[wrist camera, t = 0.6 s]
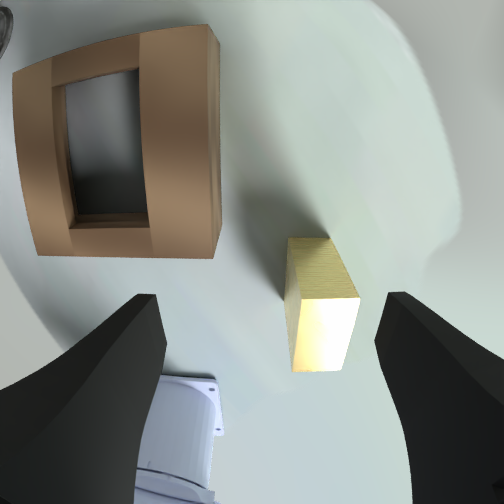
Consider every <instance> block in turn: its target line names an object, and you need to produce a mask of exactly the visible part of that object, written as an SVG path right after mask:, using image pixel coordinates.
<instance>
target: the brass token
mask: <svg viewBox="0 0 504 504" xmlns="http://www.w3.org/2000/svg"><path fill="white" fill-rule="evenodd" d="M359 301H360V297H359V295H358V293H357V291H356V289H355V286H354V284H353V282H352V280H351V278H350V276H349V274H348V272H347V270H346V268H345V266H344V264H343V262H342V260H341V257H340V255H339V253H338V251H337V249H336V247H335V246H334V244H333V242H332V240H331V238H296V237H288V251H287V266H286V280H285V293H284V307H285V315H286V323H287V332H288V340H289V349H290V358H291V367H292V372H308V371H329V370H340V369H341V367H342V364H343V360H344V357H345V354H346V350H347V347H348V343H349V340H350V336H351V332H352V329H353V325H354V321H355V317H356V313H357V309H358V305H359Z"/></svg>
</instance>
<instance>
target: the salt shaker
mask: <svg viewBox="0 0 504 504" xmlns="http://www.w3.org/2000/svg"><path fill="white" fill-rule="evenodd" d="M12 28H13V15H12V13H11V10H9V9H8V8H7V7H0V58H1V57H2V55H3V53H4V51H5V50H6V47H7V45H8V43H9V40H10V37H11V33H12Z"/></svg>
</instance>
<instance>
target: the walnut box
mask: <svg viewBox="0 0 504 504" xmlns="http://www.w3.org/2000/svg"><path fill="white" fill-rule="evenodd" d="M136 69H139V93H140V123H141V141H142V156H143V168H144V179H145V189H146V199H147V208H148V212H138V213H107V214H84V215H79V214H78V208H77V203H76V197H75V191H74V184H73V178H72V170H71V162H70V154H69V144H68V133H67V118H66V96H65V85H68V84H72V83H76V82H80V81H83V80H87V79H92V78H96V77H100V76H105V75H109V74H114V73H119V72H125V71H130V70H136ZM12 95H13V120H14V134H15V144H16V153H17V161H18V168H19V174H20V181H21V186H22V192H23V197H24V202H25V207H26V211H27V216H28V220H29V224H30V228H31V232H32V236H33V240H34V244H35V247H36V251H37V254H38V256H80V257H129V258H188V259H213V257H214V253H215V250H216V246H217V242H218V238H219V235H220V231H221V227H222V206H221V168H220V43H219V41H218V40H217V38H216V36H215V35H214V33H213V31H212V30H211V28H210V27H209V25H208V24H202V25H191V26H182V27H174V28H166V29H160V30H153V31H147V32H142V33H137V34H132V35H127V36H122V37H118V38H114V39H109V40H105V41H102V42H98V43H94V44H91V45H87V46H84V47H80V48H77V49H74V50H71V51H68V52H65V53H62V54H59V55H56V56H53V57H50V58H48V59H45V60H43V61H40V62H37V63H35V64H32V65H30V66H28V67H25V68H23V69H21V70H18V71H16V72H14V73H13V77H12Z"/></svg>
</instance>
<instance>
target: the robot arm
mask: <svg viewBox="0 0 504 504" xmlns="http://www.w3.org/2000/svg"><path fill="white" fill-rule="evenodd" d="M374 341H375V346H376V350H377V354H378V358H379V362H380V366H381V369H382V372H383V375H384V377H385V380H386V383H387V385H388V388H389V390H390V393H391V396H392V399H393V401H394V404H395V407H396V410H397V412H398V415H399V418H400V421H401V424H402V428H403V431H404V435H405V441H406V446H407V452H408V457H409V465H410V473H411V483H412V499H413V504H504V359H502V358H500V357H498V356H497V355H495V354H494V353H492V352H490V351H488V350H487V349H485V348H484V347H482V346H481V345H479V344H478V343H476V342H475V341H473V340H472V339H470V338H469V337H468V336H466V335H464V334H463V333H462V332H460V331H459V330H458V329H456V328H455V327H454V326H452V325H451V324H449V323H448V322H447V321H445V320H444V319H443V318H441V317H440V316H439V315H438V314H436V313H435V312H434V311H432V310H431V309H429V308H428V307H426V306H425V305H424V304H423V303H421V302H420V301H419V300H417V299H416V298H414V297H413V296H411V295H410V294H408V293H406V292H388V295H387V299H386V303H385V306H384V310H383V313H382V317H381V320H380V324H379V327H378V330H377V334H376V337H375V340H374ZM166 346H167V341H166V337H165V333H164V329H163V325H162V320H161V316H160V312H159V307H158V302H157V298H156V294H137V295H135V296H134V297H133V298H131V299H130V300H129V301H128V302H126V303H125V304H124V305H123V306H122V307H120V308H119V309H118V310H117V311H116V312H115V313H113V314H112V315H111V316H110V317H109V318H107V319H106V320H105V321H104V322H103V323H102V324H100V325H99V326H98V327H97V328H96V329H94V330H93V331H92V332H91V333H89V334H88V335H87V336H86V337H84V338H83V339H82V340H80V341H79V342H78V343H77V344H75V345H74V346H73V347H72V348H70V349H69V350H68V351H66V352H65V353H64V354H62V355H61V356H59V357H58V358H56V359H55V360H54V361H52V362H50V363H49V364H47V365H46V366H44V367H43V368H41V369H39V370H38V371H36V372H34V373H32V374H30V375H29V376H27V377H25V378H23V379H21V380H20V381H18V382H16V383H14V384H12V385H10V386H8V387H6V388H4V389H2V390H0V504H221V503H219V502H217V501H214V494H215V492H214V491H210V490H208V484H209V480H210V470H211V459H212V450H213V440H214V436H222V435H224V426H223V419H222V411H221V404H220V396H219V388H218V382H217V381H216V380H214V379H204V378H189V377H177V376H166V375H161V372H162V368H163V363H164V358H165V352H166Z"/></svg>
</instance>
